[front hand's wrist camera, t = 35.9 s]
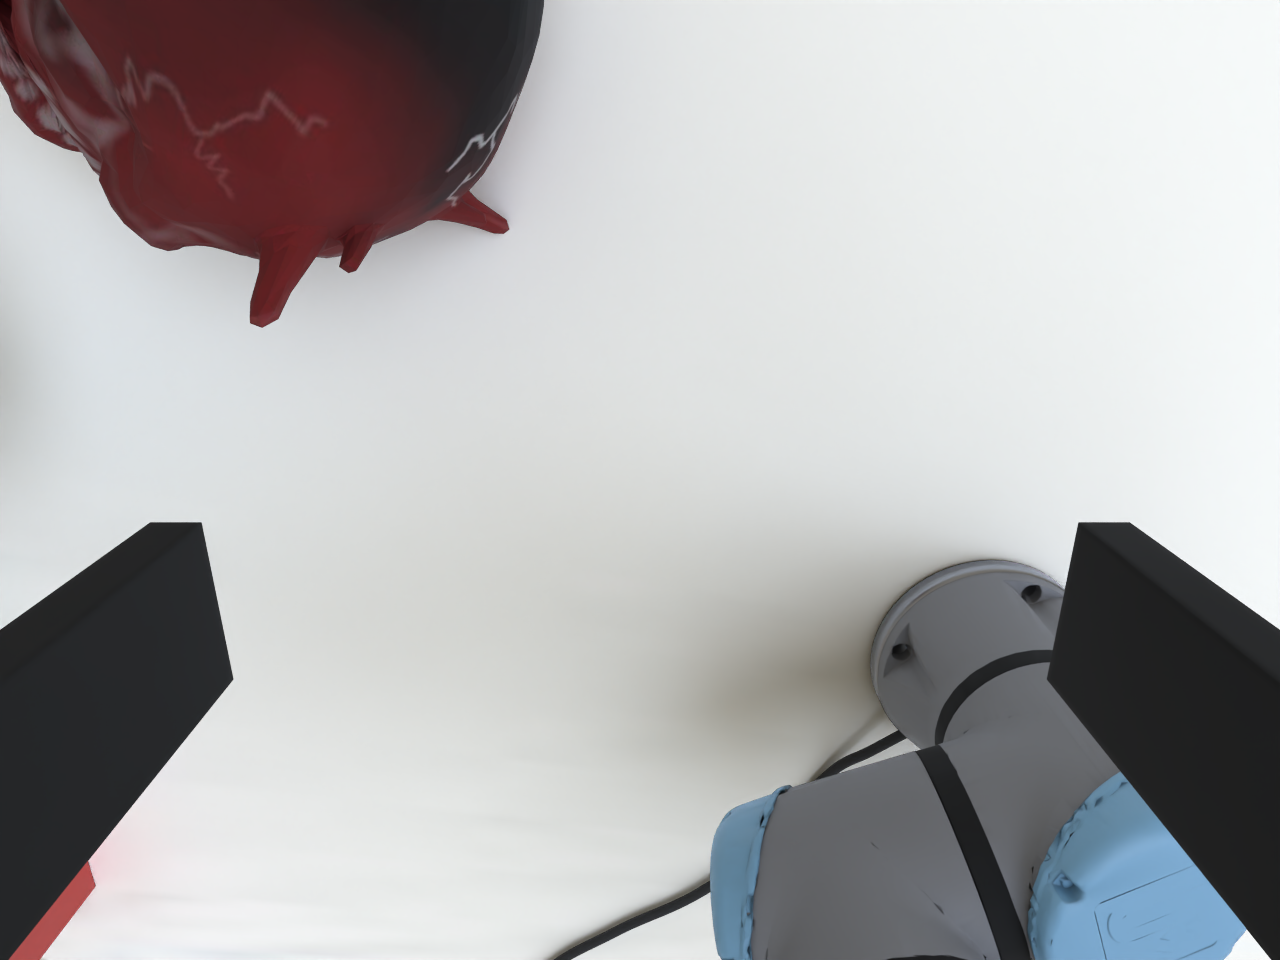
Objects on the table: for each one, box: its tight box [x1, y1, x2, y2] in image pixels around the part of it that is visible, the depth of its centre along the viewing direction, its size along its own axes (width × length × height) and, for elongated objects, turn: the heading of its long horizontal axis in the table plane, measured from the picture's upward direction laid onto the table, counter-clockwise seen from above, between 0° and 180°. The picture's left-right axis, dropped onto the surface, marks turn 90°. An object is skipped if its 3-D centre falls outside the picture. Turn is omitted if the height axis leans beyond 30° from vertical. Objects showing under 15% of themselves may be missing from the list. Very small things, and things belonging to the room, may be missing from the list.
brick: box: [9, 861, 95, 960], centre depth 62 cm, size 5×8×9 cm, turn 0°
